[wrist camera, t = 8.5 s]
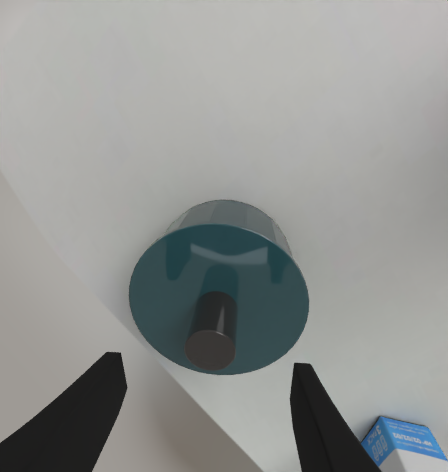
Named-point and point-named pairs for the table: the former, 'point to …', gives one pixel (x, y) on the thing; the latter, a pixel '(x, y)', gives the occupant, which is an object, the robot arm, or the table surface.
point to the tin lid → (219, 298)
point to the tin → (232, 218)
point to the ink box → (404, 447)
